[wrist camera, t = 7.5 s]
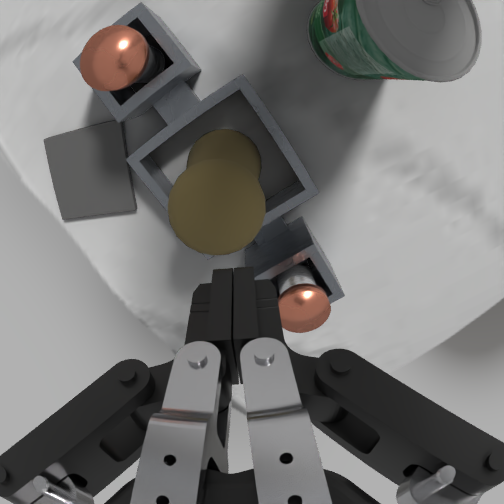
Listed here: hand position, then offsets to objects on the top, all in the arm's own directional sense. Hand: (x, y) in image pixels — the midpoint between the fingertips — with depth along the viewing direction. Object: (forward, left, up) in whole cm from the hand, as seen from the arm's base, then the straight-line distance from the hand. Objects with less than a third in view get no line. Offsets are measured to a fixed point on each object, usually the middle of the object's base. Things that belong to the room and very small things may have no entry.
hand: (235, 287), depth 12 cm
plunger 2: (+8, +4, -14) cm, 17 cm away
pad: (-2, -13, -15) cm, 20 cm away
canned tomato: (-12, +10, -15) cm, 22 cm away
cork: (-1, -1, -15) cm, 15 cm away
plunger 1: (-10, -6, -14) cm, 18 cm away
